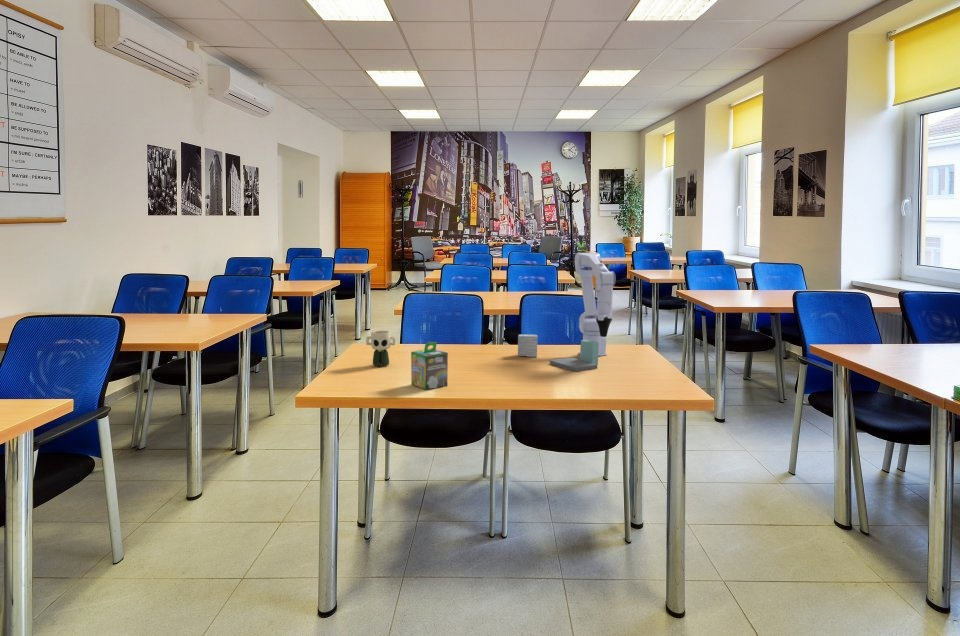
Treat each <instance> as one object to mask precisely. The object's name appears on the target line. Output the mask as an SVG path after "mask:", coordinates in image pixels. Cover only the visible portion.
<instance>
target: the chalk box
mask: <svg viewBox="0 0 960 636" xmlns="http://www.w3.org/2000/svg"><path fill="white" fill-rule="evenodd" d="M437 343H438V342H437V341H431V342H426V343H425V345H424V349H420V350H419V349H418V350H414V351H411V352H410V356H411V357H410V360H411V361H410V366H411V367H410V368H411V369H410V370H411V371H410V372H411V377H410V378H411V385H412V386H414V387H415V386H416V387H418V388H419V389H424V390H426V391H427V390H432V389H437V388H443V387H442V386H444V387H448V378H449V377H448V372H449V371H448V369H449V365H448V359H449V358H448V357H449V355H448V354H449V352H446V351H443V350H440V349H437ZM431 346H432V348H429V347H431Z"/></svg>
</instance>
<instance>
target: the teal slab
mask: <svg viewBox="0 0 960 636" xmlns="http://www.w3.org/2000/svg"><path fill="white" fill-rule="evenodd" d="M598 350H599V343H598V342H594V341H589V340H583V339H581V340H580V351H579V352H580V354H579V356H580V357H579V360H583V361H586V362H590V363H593V364H597V365H598V366H599V356H598Z"/></svg>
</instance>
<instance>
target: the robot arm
mask: <svg viewBox="0 0 960 636" xmlns="http://www.w3.org/2000/svg"><path fill="white" fill-rule="evenodd" d="M574 268H575V269H574V270H575V273H576V274H577V276H579V279H580V283H581V292H582V300H583V307H584V312H583V313H581V314H580V316H579V318H578V320H579V321H578V327H579V331H580V333H581V334H582V340H589V341H594V342H598V343H599V350H598V357H601V356H602V357H603V356H607V354H608V353H607V351H606V350H607V339H606V337H608V336H607V335H608V332H609V328H610V325H611V323H612V320H613V318H612V317H613V294H614V293H613V291H614V289H613V288H614V286H615V285H616V279H617V278H616V277H617V276H616V273H615V271H613V270H611V271H609V269H608V268H607V266H606V265H605V264H604V263H603V262H601V255H600V253H599V252H576V254H575V256H574ZM593 276H594V278H595V282H596V290H597V300H596V298H595V290H594V283H593ZM596 301H597V303H596ZM577 354H578V355H580V351H579V352H578V353H577Z"/></svg>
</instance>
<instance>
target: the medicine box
mask: <svg viewBox="0 0 960 636" xmlns="http://www.w3.org/2000/svg"><path fill="white" fill-rule="evenodd" d="M518 356H527V357H526V358H538V335H537V334H518V336H517V357H518Z"/></svg>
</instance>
